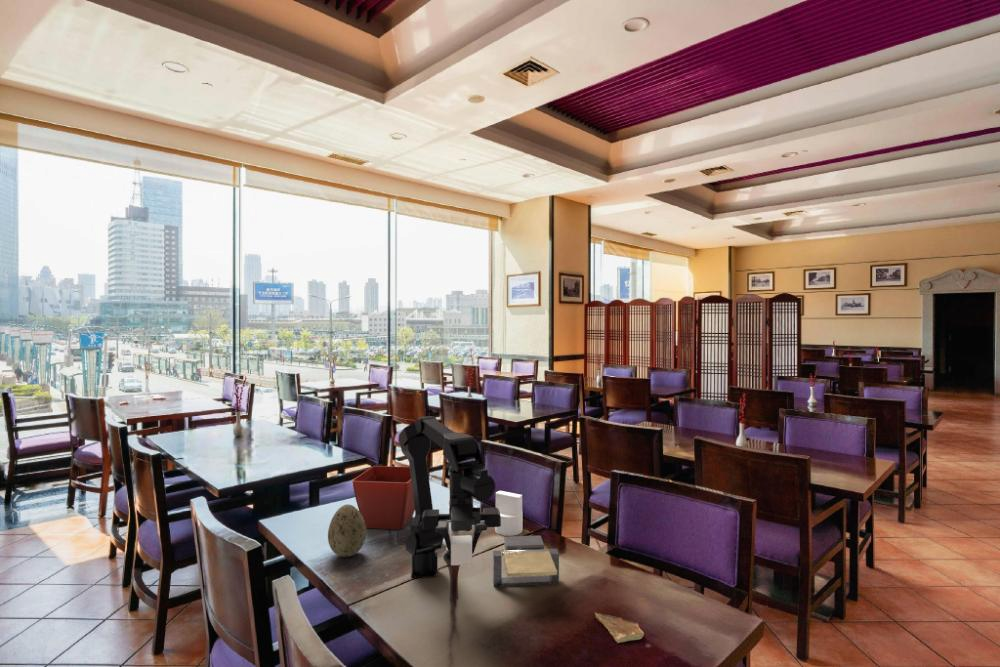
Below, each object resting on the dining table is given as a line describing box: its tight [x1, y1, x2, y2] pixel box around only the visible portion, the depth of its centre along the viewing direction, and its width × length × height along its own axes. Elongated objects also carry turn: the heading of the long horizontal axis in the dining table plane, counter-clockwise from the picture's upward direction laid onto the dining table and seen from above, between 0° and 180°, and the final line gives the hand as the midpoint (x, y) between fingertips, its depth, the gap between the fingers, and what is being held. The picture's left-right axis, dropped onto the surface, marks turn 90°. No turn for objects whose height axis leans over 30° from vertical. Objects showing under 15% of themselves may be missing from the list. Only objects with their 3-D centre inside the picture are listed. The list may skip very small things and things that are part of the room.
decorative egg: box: [327, 503, 367, 558], centre depth 152 cm, size 11×11×15 cm
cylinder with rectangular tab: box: [494, 490, 523, 537], centre depth 171 cm, size 9×9×12 cm
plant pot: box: [351, 465, 415, 531], centre depth 177 cm, size 19×19×17 cm
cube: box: [450, 534, 473, 566], centre depth 126 cm, size 5×5×5 cm
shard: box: [594, 611, 645, 644], centre depth 116 cm, size 11×8×2 cm
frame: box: [492, 548, 560, 588], centre depth 136 cm, size 17×3×8 cm, turn 95°
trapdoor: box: [501, 535, 557, 577], centre depth 133 cm, size 12×19×3 cm, turn 5°
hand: (461, 553), depth 126 cm, fingers closed on cube, 5 cm apart
